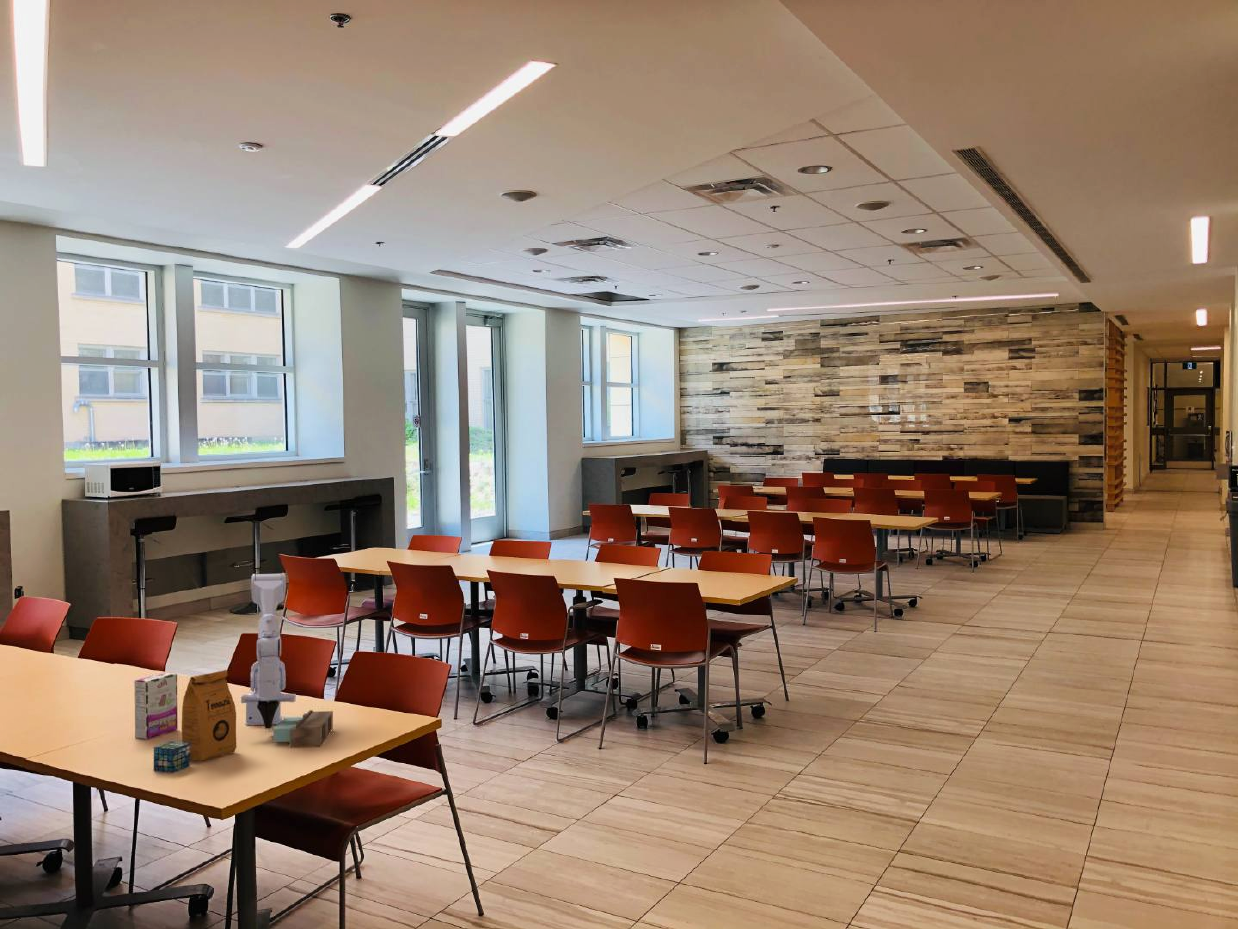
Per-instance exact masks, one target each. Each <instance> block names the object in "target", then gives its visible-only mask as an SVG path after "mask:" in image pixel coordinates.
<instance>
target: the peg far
mask: <svg viewBox="0 0 1238 929" xmlns="http://www.w3.org/2000/svg"><path fill="white" fill-rule="evenodd" d="M302 718H303V716H295V717H293V716H291V717H290V716H289V717H286V716H284V719H283V720H282V721H281V722H280V725H296V722H297V721H298V720H302Z"/></svg>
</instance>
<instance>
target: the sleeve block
mask: <svg viewBox="0 0 1238 929" xmlns="http://www.w3.org/2000/svg"><path fill="white" fill-rule="evenodd" d="M333 714H334V711H333V710H329V711H328V710H327V711H313V710H312V709H311V710H309V711H307V713H303V714H302V717H303V718H302V720H298V721H297V722H296V727H292V728H291V729H290V742H289V748H320V747H321V746H322V745H323V744H324V742H325V741H326V740H327V738H328V737H327V736H328V735H329V736H330V734H331V733H332V732H331V730H332V729H333V730H334V726H333V725H334V724H333V722H334V720H333V719H334V718H333V717H334V715H333ZM333 730H332V731H333ZM330 732H331V733H330ZM329 733H330V734H329ZM326 737H327V738H326ZM325 739H326V740H325Z"/></svg>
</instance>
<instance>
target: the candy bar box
mask: <svg viewBox="0 0 1238 929" xmlns="http://www.w3.org/2000/svg"><path fill="white" fill-rule="evenodd" d="M177 730H178V673H175V672H174V673H173V672H162V673H158V674H154V675H150V676H146V677H141V678H139V679H135V680H134V738H135V739H139V740H151V739H153V738H156V737H160V736H163V735H165V734H169V733H171V732H173V731H177Z"/></svg>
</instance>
